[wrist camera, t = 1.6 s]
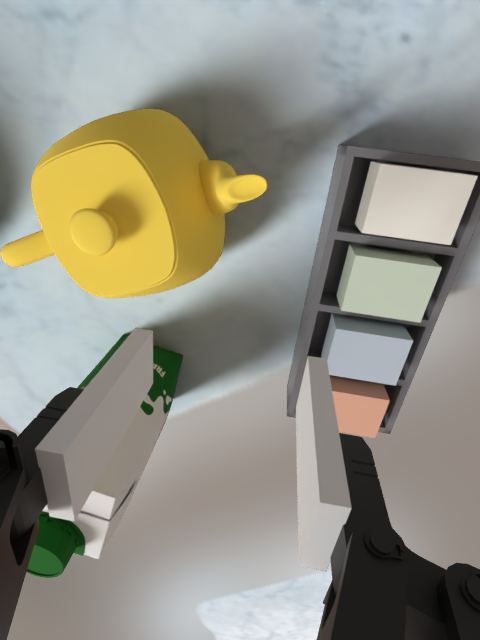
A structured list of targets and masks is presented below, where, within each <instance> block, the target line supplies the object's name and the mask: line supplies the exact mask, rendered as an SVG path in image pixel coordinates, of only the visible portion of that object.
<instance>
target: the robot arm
mask: <svg viewBox="0 0 480 640" xmlns="http://www.w3.org/2000/svg"><path fill="white" fill-rule="evenodd" d="M152 384H153V331H151V330H145V329H139V328H135V329H134V330H133V331H132V333H131V334H130V335H129V336H128V337H127V339H126V340H125V341H124V342H123V343H122V345H121V346H120V347H119V348H118V349H117V351H116V352H115V353H114V354H113V355H112V357H111V358H110V359H109V360H108V361H107V363H106V364H105V365H104V366H103V367H102V369H101V370H100V371H99V372H98V374H97V375H96V376H95V377H94V378H93V380H92V381H91V382H90V383H89V384H88V386H87V387H86V388H85V389H84V390H83V389H78V388H72V387H69V388H68V389H66V390H64V391H63V392H61V393H59V394H58V395H56V396H55V397H54V398H53V399H52V400H51V401H50V402H49V403H48V404H47V406H46V408H45V409H43V410H42V411H41V412H40V413H39V414H38V416H37V418H35V419H34V420H33V421H32V422H31V423H30V424H29V425H28V426H27V427H26V428H25V429H24V430H23V432H22V433H21V434H20V435H19V436H18V437H17V435H16V434H15V433H14V432H11V431H9V430H0V640H6V639H7V636H8V633H9V629H10V626H11V622H12V619H13V616H14V612H15V609H16V605H17V602H18V598H19V595H20V591H21V588H22V585H23V581H24V578H25V575H26V571H27V568H28V564H29V561H30V558H31V554H32V551H33V547H34V544H35V541H36V537H37V534H38V530H39V519H38V517H39V515H40V514H41V512H42V511H43V509H44V508H45V506H46V505H47V507H48V511H49V516H50V517H55V518H60V519H65V520H70V521H75V520H76V518H77V517H78V515H79V513H80V511H81V510H82V508H83V506H84V504H85V503H86V501H87V499H88V497H89V495H90V494H91V492H92V490H93V488H94V487H95V485H96V483H97V481H98V480H99V478H100V476H101V474H102V473H103V471H104V469H105V467H106V466H107V464H108V462H109V460H110V458H111V457H112V455H113V453H114V451H115V450H116V448H117V446H118V444H119V443H120V441H121V439H122V437H123V436H124V434H125V432H126V430H127V428H128V427H129V425H130V423H131V421H132V420H133V418H134V416H135V414H136V413H137V411H138V409H139V407H140V406H141V404H142V402H143V400H144V398H145V397H146V395H147V393H148V391H149V390H150V388H151V386H152ZM296 446H297V497H298V546H299V566H301V567H306V568H311V569H316V570H321V571H327V569H328V566H329V563H330V561H331V569H332V579H333V580H332V582H331V584H330V587H329V589H328V591H327V594H326V596H325V599H324V601H323V604H325V607H324V611H323V616H322V620H321V624H320V628H319V633H318V637H317V640H480V570H479V569H477V568H475V567H473V566H471V565H468V564H462V563H455V564H453V565H451V566H449V567H448V569H447V570H445V569H444V568H442V567H440V566H438V565H436V564H434V563H432V562H430V561H427V560H426V559H424V558H422V557H420V556H418V555H417V554H415V553H414V552H412V551H411V550H410V549H408V548H407V547H406V546H405V544H404V542H403V540H402V538H401V537H400V536H399V535H398V534H397V533H396V532H395V531H394V529H392V526H391V524H390V521H389V517H388V513H387V510H386V505H385V501H384V498H383V494H382V490H381V486H380V482H379V479H378V475H377V471H376V467H375V463H374V460H373V456H372V452H371V449H370V448H369V447H368V445H367V444H366V443H365V441H364V440H363V438H362V437H358V436H353V435H347V434H341V433H339V429H338V423H337V417H336V411H335V405H334V399H333V393H332V387H331V382H330V376H329V370H328V364H327V359H325V358H318V357H312V356H308V358H307V362H306V366H305V370H304V375H303V379H302V383H301V387H300V392H299V396H298V400H297V404H296Z"/></svg>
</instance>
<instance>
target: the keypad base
mask: <svg viewBox="0 0 480 640" xmlns="http://www.w3.org/2000/svg"><path fill="white" fill-rule="evenodd" d="M371 161H372V162H380V163H388V164H396V165H404V166H412V167H420V168H428V169H436V170H444V171H452V172H459V173H464V174H470V175H475V176H478V177H477V180H476V182H475V185H474V187H473V190H472V192H471V195H470V197H469V200H468V203H467V205H466V208H465V210H464V213H463V215H462V218H461V220H460V223H459V226H458V228H457V231H456V233H455V236H454V238H453V241H452V243H451V245H446V244H438V243H431V242H424V241H417V240H409V239H402V238H395V237H388V236H381V235H373V234H366V233H361V231H360V230H359V229H358V227H357V226H356V225H355V221H356V217H357V213H358V209H359V206H360V202H361V198H362V194H363V190H364V186H365V182H366V178H367V174H368V171H369V167H370V163H371ZM479 218H480V162H477V161H469V160H461V159H453V158H445V157H437V156H429V155H421V154H412V153H404V152H396V151H388V150H380V149H372V148H364V147H356V146H348V145H339V146H338V150H337V155H336V160H335V164H334V169H333V174H332V178H331V183H330V188H329V192H328V197H327V202H326V206H325V211H324V216H323V220H322V225H321V230H320V234H319V239H318V244H317V248H316V253H315V258H314V262H313V267H312V272H311V276H310V281H309V286H308V290H307V295H306V300H305V304H304V309H303V314H302V318H301V323H300V328H299V332H298V337H297V342H296V346H295V351H294V356H293V360H292V365H291V370H290V374H289V380H288V384H287V416H289V417H295V418H296V404H297V400H298V396H299V392H300V387H301V383H302V379H303V375H304V370H305V366H306V362H307V358H308V356H312V357H318V358H321V353H322V350H323V346H324V342H325V338H326V334H327V330H328V326H329V322H330V318H331V315H332V313H337V314H343V315H350V316H356V317H363V318H369V319H376V320H382V321H389V322H395V323H402V324H403V325H404V326H405V328H406V330H407V331H408V333H409V335H410V336H411V338H412V339H413V343H412V346H411V348H410V351H409V353H408V356H407V358H406V361H405V363H404V366H403V368H402V371H401V374H400V376H399V379H398V381H397V384H396V386H394V385H388V384H384V387H385V389H386V392H387V394H388V397H389V400H390V402H389V404H388V407H387V409H386V412H385V414H384V417H383V420H382V422H381V425H380V427H379V430H378V432H382V433H388V434H390V432H391V430H392V428H393V425H394V423H395V420H396V418H397V415H398V413H399V410H400V408H401V406H402V403H403V401H404V399H405V396H406V394H407V391H408V389H409V386H410V384H411V382H412V379H413V377H414V374H415V372H416V370H417V367H418V365H419V362H420V360H421V358H422V355H423V353H424V350H425V348H426V345H427V343H428V341H429V338H430V336H431V333H432V331H433V329H434V326H435V324H436V321H437V319H438V317H439V314H440V312H441V309H442V307H443V305H444V302H445V300H446V297H447V295H448V292H449V290H450V288H451V285H452V283H453V280H454V278H455V276H456V273H457V271H458V268H459V266H460V264H461V261H462V259H463V256H464V254H465V251H466V249H467V247H468V244H469V242H470V239H471V237H472V235H473V232H474V230H475V227H476V225H477V223H478V220H479ZM349 244H350V245H357V246H365V247H372V248H379V249H386V250H393V251H400V252H407V253H414V254H421V255H428V256H429V257H430V258H431V259H432V260H434V261H435V262H436V263H437V264H438V265H440V266H441V267H442V269H441V271H440V274H439V277H438V279H437V282H436V284H435V287H434V289H433V292H432V294H431V297H430V300H429V302H428V305H427V307H426V310H425V312H424V315H423V317H422V320H421V323H419V322H412V321H406V320H399V319H393V318H386V317H380V316H373V315H366V314H360V313H353V312H347V311H341V309H340V306H339V303H338V299H337V296H336V295H337V291H338V287H339V283H340V280H341V276H342V272H343V268H344V264H345V260H346V256H347V252H348V248H349Z"/></svg>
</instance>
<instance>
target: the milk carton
mask: <svg viewBox="0 0 480 640" xmlns="http://www.w3.org/2000/svg"><path fill="white" fill-rule="evenodd" d="M127 337H128V336H126V335H124V334H123V336H122V337H121V338H120V339H119V340H118V342H117V343H116V344H115V345H114V346H113V347H112V348H111V350H110V351H109V352H108V353H107V354H106V355H105V357H104V358H103V359H102V360H101V361H100V362H99V363H98V365H97V366H96V367H95V368H94V369H93V370H92V372H91V373H90V374H89V375H88V376H87V377H86V378H85V380H84V381H83V382H82V383H81V384H80V385H79V386H78V389H83V390H84V389H85V388H86V387H87V386H88V384H89V383H90V382H91V381H92V380H93V378H94V377H95V376H96V375H97V374H98V372H99V371H100V370H101V369H102V367H103V366H104V365H105V364H106V363H107V361H108V360H109V359H110V358H111V357H112V355H113V354H114V353H115V352H116V351H117V349H118V348H119V347H120V346H121V345H122V343H123V342H124V341H125V340H126V339H127ZM182 357H183V356H182V355H179V354H176V353H173V352H171V351H168V350H165V349H162V348H160V347H157V346H154V345H153V384H152V386H151V388H150V390H149V391H148V393H147V395H146V397H145V398H144V400H143V402H142V404H141V406H140V407H139V409H138V411H137V413H136V414H135V416H134V418H133V420H132V421H131V423H130V425H129V427H128V428H127V430H126V432H125V434H124V436H123V437H122V439H121V441H120V443H119V444H118V446H117V448H116V450H115V451H114V453H113V455H112V457H111V458H110V460H109V462H108V464H107V466H106V467H105V469H104V471H103V473H102V474H101V476H100V478H99V480H98V481H97V483H96V485H95V487H94V488H93V490H92V492H91V494H90V495H89V497H88V499H87V501H86V503H85V504H84V506H83V508H82V510H81V511H80V513H79V515H78V517H77V518H76V520H75V521H70V520H65V519H60V518H55V517H50V516H49V511H48V507H47V505H46V506H45V508H44V509H43V511H42V512H41V514H40V515H39V517H38V519H39V530H38V534H37V537H36V541H35V544H34V547H33V551H32V554H31V558H30V561H29V564H28V568H27V571H26V572H28V573H30V574H33V575H36V576H40V577H46V578H51V577H57V576H59V575H60V574H62V572H63V571H64V569H65V567H66V565H67V563H68V562H69V560H70V558H71V556H72V554H73V553H76V554H79V555H83V554H85V555H88V556H90V557H93V558H96V559H99V558H100V556H101V555H102V553H103V551H104V549H105V547H106V545H107V544H108V542H109V540H110V538H111V537H112V535H113V533H114V532H115V530H116V528H117V526H118V524H119V522H120V520H121V518H122V516H123V514H124V512H125V510H126V508H127V506H128V504H129V502H130V500H131V498H132V495H133V493H134V490H135V488H136V486H137V484H138V482H139V480H140V477H141V475H142V473H143V471H144V468H145V466H146V464H147V462H148V460H149V457H150V455H151V453H152V451H153V448H154V446H155V444H156V442H157V440H158V437H159V435H160V433H161V431H162V428H163V426H164V424H165V421H166V419H167V416H168V413H169V410H170V407H171V404H172V401H173V396H174V392H175V388H176V383H177V379H178V374H179V370H180V365H181V361H182Z"/></svg>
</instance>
